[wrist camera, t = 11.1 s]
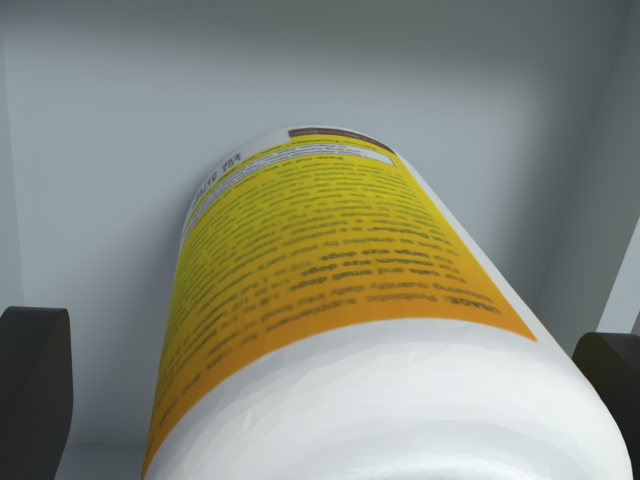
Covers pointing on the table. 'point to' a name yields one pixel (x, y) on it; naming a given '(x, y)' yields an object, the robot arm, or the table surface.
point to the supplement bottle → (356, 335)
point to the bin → (295, 110)
